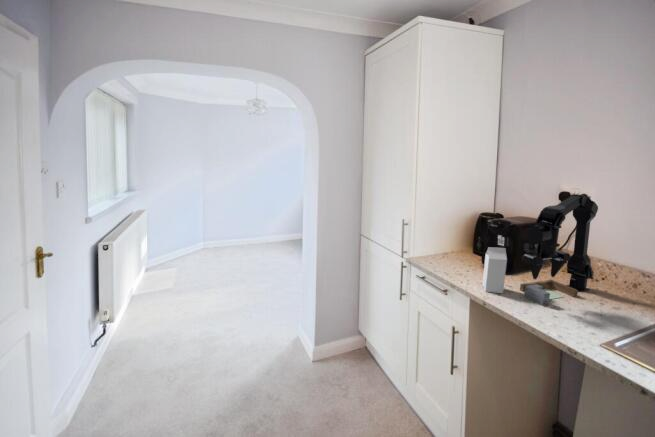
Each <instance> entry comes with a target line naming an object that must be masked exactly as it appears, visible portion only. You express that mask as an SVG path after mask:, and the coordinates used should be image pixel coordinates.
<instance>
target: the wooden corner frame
mask: <svg viewBox="0 0 655 437" xmlns="http://www.w3.org/2000/svg"><path fill="white" fill-rule="evenodd" d="M535 284H537V285H540V286H542V287H543V289H550V288H552V289H554V290H556V291H558V292H561V293H563V294H566V295H567V296H570V297H572V298H577V297H578V293H579V291H578V290H576V289H574V288H571V287H569V286H566V285H567V284H563V283H561V282H559V281H556V280H553V279H546V280H539V281H532V282H531V281H530V282H525V283H520V284H519V291H520V292H522V293H523V292H524V293H525V287H526V286H528V285H535Z"/></svg>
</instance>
